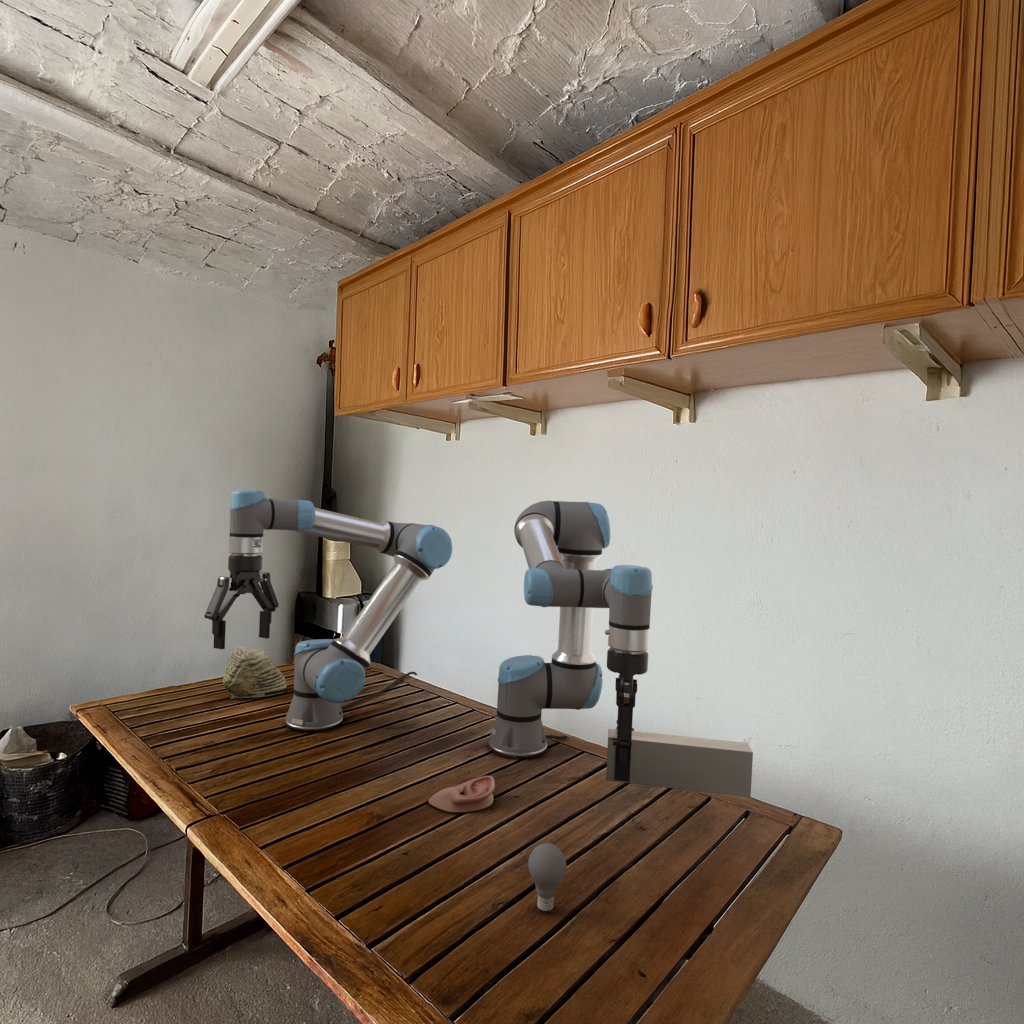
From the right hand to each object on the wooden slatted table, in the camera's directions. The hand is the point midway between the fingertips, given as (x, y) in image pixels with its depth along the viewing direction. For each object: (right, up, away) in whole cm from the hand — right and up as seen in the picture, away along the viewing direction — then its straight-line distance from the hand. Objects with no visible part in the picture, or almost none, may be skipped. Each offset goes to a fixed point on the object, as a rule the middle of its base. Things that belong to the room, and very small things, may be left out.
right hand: (621, 773), depth 118 cm
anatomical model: (-31, -13, +17) cm, 38 cm away
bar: (+10, -1, -2) cm, 10 cm away
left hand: (-85, +17, +34) cm, 93 cm away
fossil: (-101, -9, +80) cm, 129 cm away
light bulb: (-15, -14, -18) cm, 27 cm away
